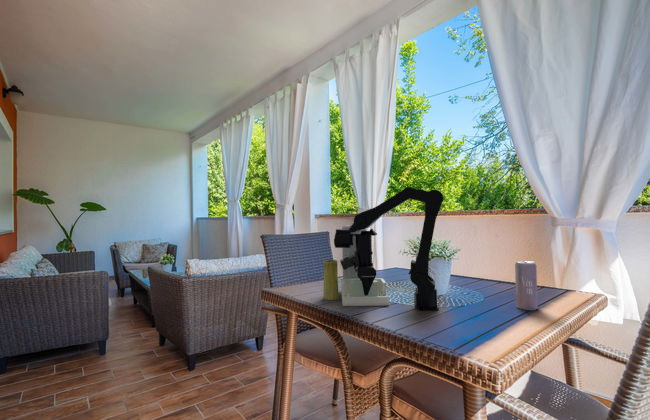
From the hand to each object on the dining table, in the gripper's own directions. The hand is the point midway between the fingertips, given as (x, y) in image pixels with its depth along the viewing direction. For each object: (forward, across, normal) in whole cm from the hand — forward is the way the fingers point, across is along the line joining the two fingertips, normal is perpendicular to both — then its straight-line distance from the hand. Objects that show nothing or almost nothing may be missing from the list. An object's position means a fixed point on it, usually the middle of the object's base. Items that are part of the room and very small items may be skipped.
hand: (364, 292), depth 115 cm
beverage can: (+4, +8, +52) cm, 53 cm away
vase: (+4, -8, -12) cm, 15 cm away
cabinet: (+4, -4, 0) cm, 6 cm away
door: (+3, 0, 0) cm, 3 cm away
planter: (+4, -19, -2) cm, 20 cm away
